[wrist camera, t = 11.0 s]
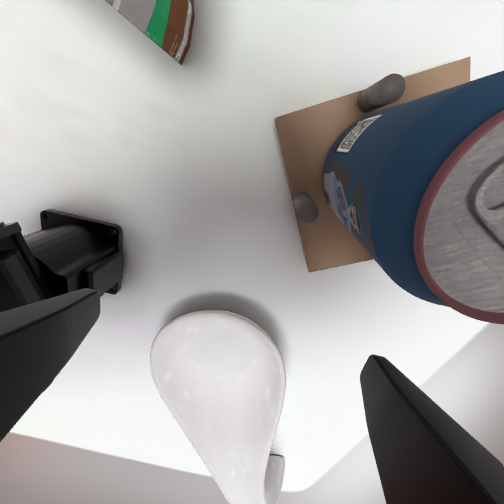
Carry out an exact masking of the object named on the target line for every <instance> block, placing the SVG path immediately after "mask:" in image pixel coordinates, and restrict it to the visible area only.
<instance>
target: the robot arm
mask: <svg viewBox="0 0 504 504" xmlns="http://www.w3.org/2000/svg"><path fill="white" fill-rule="evenodd" d="M47 214H48V215H49V217H48V216H47ZM40 218H41V227H42V230H40V231H37V232H34V233H31V234H29V235H26V236H23V235H22V233H21V231H22V229H21V227H20V225H19V224H18V222H15V223H10V224H4V222H1V223H0V442H1V441H2V439H3V438H4V437H5V436H6V435H7V433H8V432H9V431H10V430H11V429H12V428H13V426H14V425H15V424H16V423H17V422H18V420H19V419H20V418H21V417H22V416H23V414H24V413H25V412H26V411H27V410H28V409H29V407H30V406H31V405H32V404H33V403H34V401H35V400H36V399H37V398H38V397H39V396H40V394H41V393H42V392H44V391H45V390H46V389H47V388H48V386H49V385H50V384H51V383H52V382H53V380H54V379H55V377H56V376H57V375H58V374H59V373H60V371H61V369H62V368H63V367H64V366H65V365H66V363H67V362H68V361H69V360H70V358H71V357H72V356H73V354H74V353H75V351H76V350H77V348H78V347H79V346H80V344H81V343H82V341H83V340H84V338H85V337H86V335H87V334H88V332H89V331H90V330H91V328H92V327H93V325H94V324H95V322H96V321H97V319H98V317H99V315H100V297H101V296H102V295H103V294H104V293H110V294H117V293H118V292H119V291H120V287H121V279H122V269H123V253H122V251H121V234H122V232H121V229H120V227H119V226H117V225H114V224H110V223H106V222H101V221H97V220H93V219H88V218H84V217H80V216H75V215H71V214H67V213H62V212H58V211H54V210H44V211H42V212H41V213H40ZM113 229H114V230H115V231H116V233H114V232H113ZM113 287H114V288H115V289H113ZM360 382H361V389H362V395H363V402H364V409H365V415H366V422H367V427H368V432H369V436H370V440H371V444H372V448H373V452H374V456H375V460H376V464H377V468H378V472H379V476H380V480H381V484H382V488H383V491H384V496H385V500H386V504H504V466H503V464H502V463H501V462H500V461H499V460H498V459H497V458H496V457H494V456H493V455H492V454H491V453H490V452H489V451H487V449H486V448H484V447H483V446H482V445H481V444H480V443H479V442H478V441H477V440H476V439H475V438H473V437H472V436H471V435H470V434H469V433H468V432H467V431H466V430H465V429H463V428H462V427H461V426H460V425H459V424H458V423H456V421H455V420H453V419H452V418H451V417H450V416H449V415H448V414H447V413H446V412H445V411H444V410H442V409H441V408H440V407H439V406H438V405H437V404H436V403H435V402H434V401H432V400H431V399H430V398H429V397H428V396H427V395H426V394H425V393H424V392H423V391H421V390H420V389H419V388H418V387H417V386H416V385H415V384H414V383H413V382H411V381H410V380H409V379H408V378H407V377H406V376H405V375H404V374H403V373H402V372H400V371H399V370H398V369H397V368H396V367H395V366H394V365H393V364H392V363H390V362H389V361H388V360H387V359H386V358H385V357H382V356H378V355H370V356H369V358H368V360H367V362H366V363H365V365H364V367H363V369H362V371H361V374H360Z"/></svg>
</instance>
